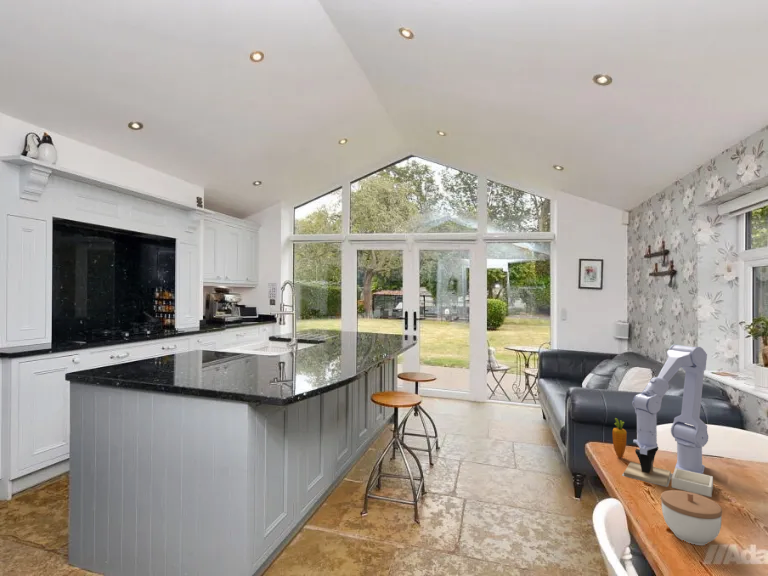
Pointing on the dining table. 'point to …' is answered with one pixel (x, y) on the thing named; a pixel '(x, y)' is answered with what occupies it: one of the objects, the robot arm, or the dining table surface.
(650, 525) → the dining table surface
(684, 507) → the lidded bowl
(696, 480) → the cream dish
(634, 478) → the rubber mat
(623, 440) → the carrot
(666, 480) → the oak lid
